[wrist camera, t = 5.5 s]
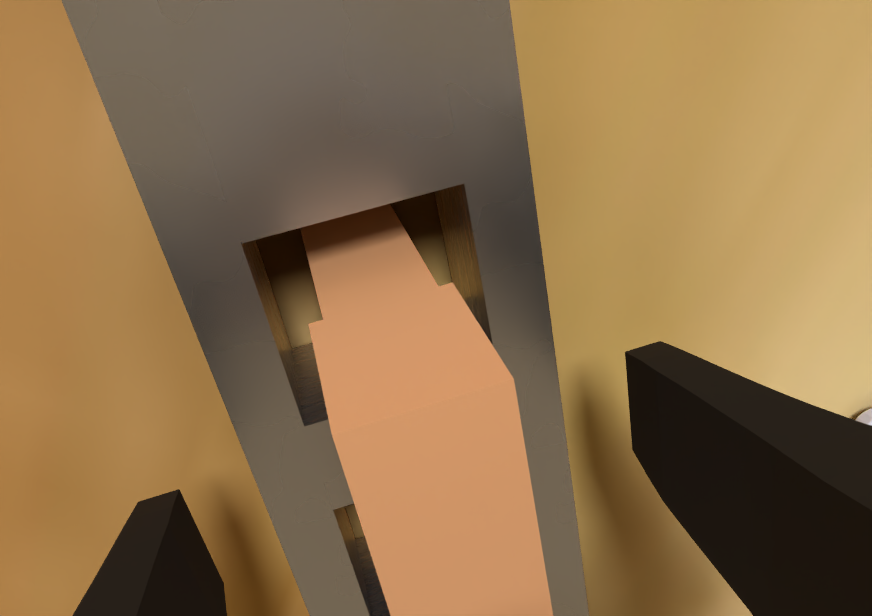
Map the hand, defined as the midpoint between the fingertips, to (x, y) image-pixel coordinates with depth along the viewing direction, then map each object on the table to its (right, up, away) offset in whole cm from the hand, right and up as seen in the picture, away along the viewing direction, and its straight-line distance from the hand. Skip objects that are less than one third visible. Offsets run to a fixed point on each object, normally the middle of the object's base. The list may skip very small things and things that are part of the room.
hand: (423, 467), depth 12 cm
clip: (-1, +1, +3) cm, 3 cm away
